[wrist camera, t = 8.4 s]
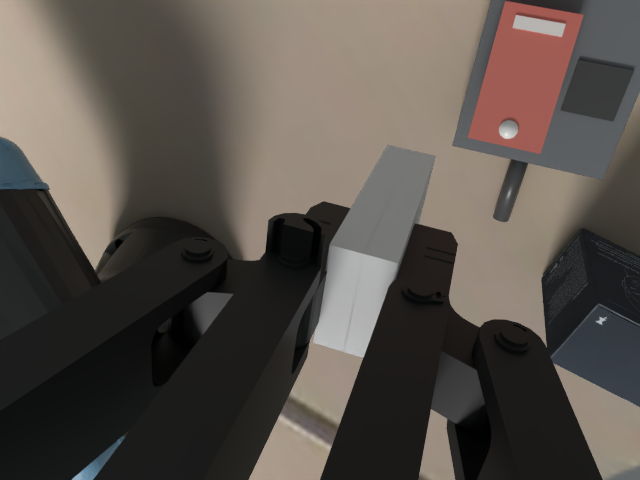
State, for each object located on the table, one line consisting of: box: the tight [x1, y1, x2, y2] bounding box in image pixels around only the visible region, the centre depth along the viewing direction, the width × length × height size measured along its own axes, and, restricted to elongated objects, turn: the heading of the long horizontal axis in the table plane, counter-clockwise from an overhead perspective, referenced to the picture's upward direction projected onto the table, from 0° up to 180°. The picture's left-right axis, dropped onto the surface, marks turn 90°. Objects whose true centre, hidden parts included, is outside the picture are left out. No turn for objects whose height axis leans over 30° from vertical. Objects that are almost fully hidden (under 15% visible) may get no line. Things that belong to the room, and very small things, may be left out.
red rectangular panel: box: [468, 1, 584, 154], centre depth 34 cm, size 4×8×1 cm, turn 172°
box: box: [542, 229, 640, 407], centre depth 41 cm, size 8×6×11 cm
